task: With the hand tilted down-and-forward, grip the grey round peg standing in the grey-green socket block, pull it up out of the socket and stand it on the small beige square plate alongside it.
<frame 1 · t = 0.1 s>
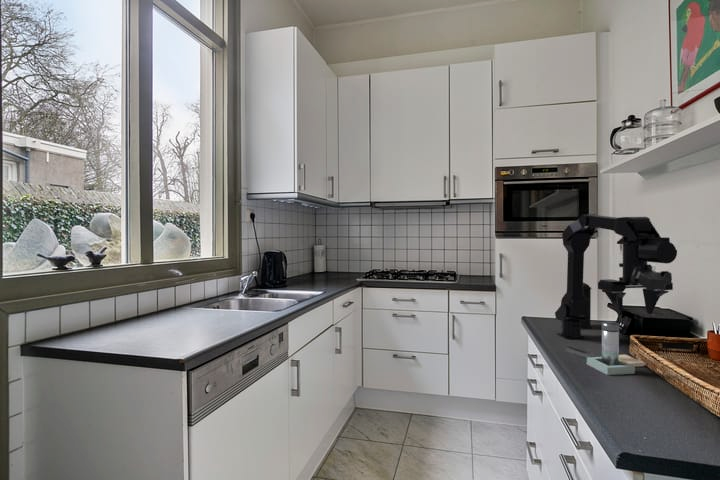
hand: (634, 314, 108), 15 cm above the countertop, tool pointing down, fingers open, 9 cm apart
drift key: (579, 354, 118), on the countertop
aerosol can: (579, 327, 149), on the countertop
grey round peg: (610, 346, 105), in the socket
socket: (610, 368, 106), on the countertop
beige square plate: (623, 362, 110), on the countertop
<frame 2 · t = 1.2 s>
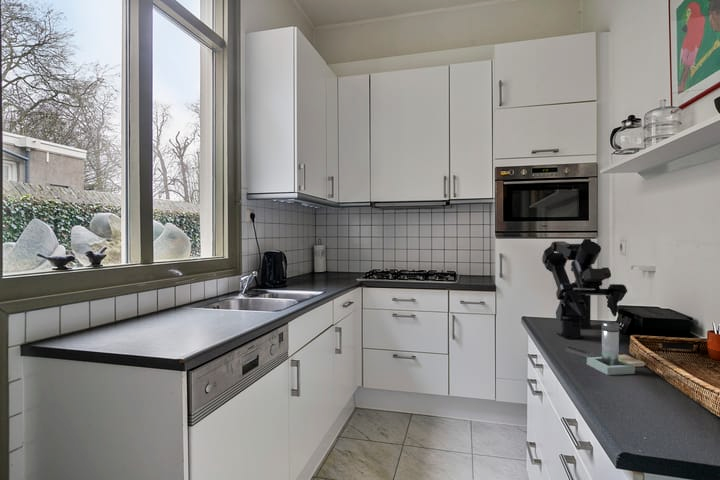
hand: (598, 315, 113), 13 cm above the countertop, tool tilted 45°, fingers open, 9 cm apart
nothing on the countertop moved.
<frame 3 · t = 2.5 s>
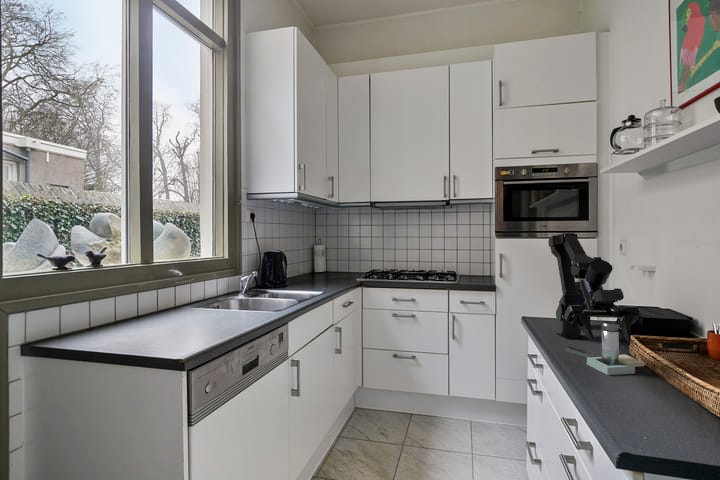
hand: (610, 340, 105), 8 cm above the countertop, tool tilted 45°, fingers open, 9 cm apart
nothing on the countertop moved.
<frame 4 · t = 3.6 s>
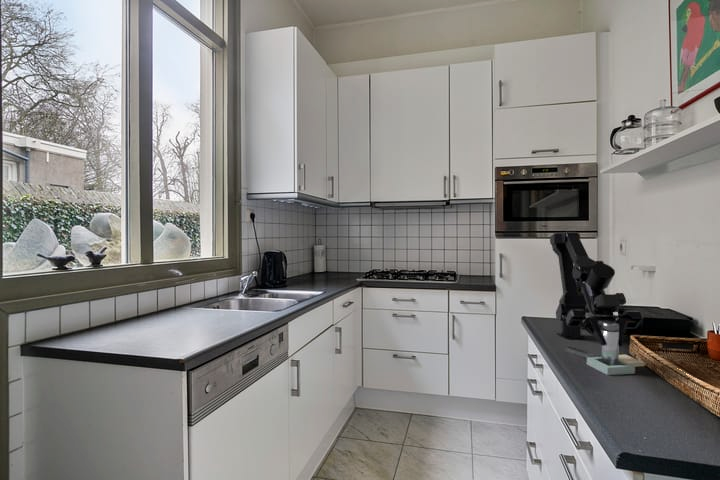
hand: (612, 345, 104), 7 cm above the countertop, tool tilted 45°, fingers closed on grey round peg, 4 cm apart
grey round peg: (610, 346, 105), in the socket, touching gripper
everything else where it was.
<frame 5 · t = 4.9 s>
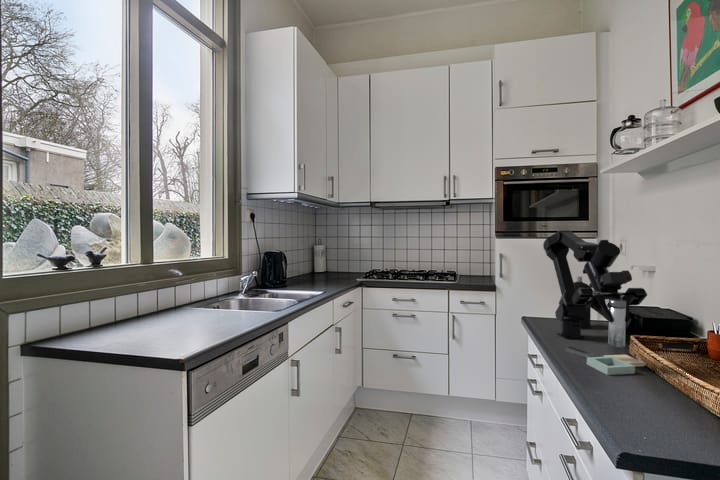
hand: (619, 321, 106), 13 cm above the countertop, tool tilted 45°, fingers closed on grey round peg, 4 cm apart
grey round peg: (616, 322, 107), point 13 cm above the countertop, touching gripper
everything else where it was.
when the fingers open (9 cm above the countertop, at t = 6.4 s): grey round peg stays where it is, resting on beige square plate.
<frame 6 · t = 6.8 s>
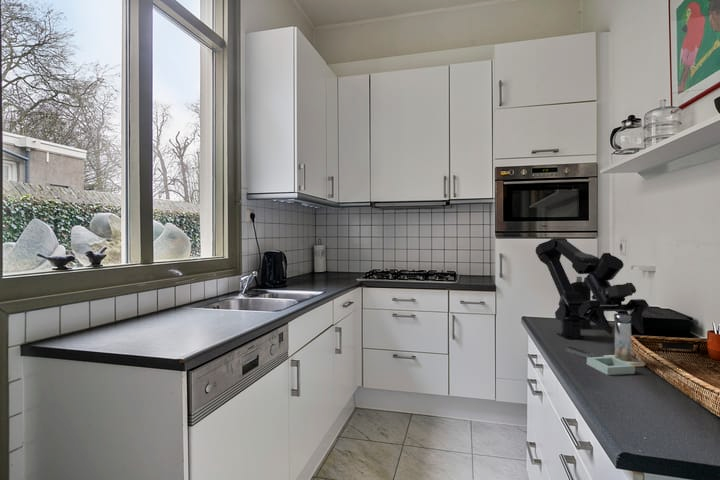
hand: (627, 333, 109), 9 cm above the countertop, tool tilted 45°, fingers open, 9 cm apart
grey round peg: (622, 336, 110), on the beige square plate, point 8 cm above the countertop
everything else where it was.
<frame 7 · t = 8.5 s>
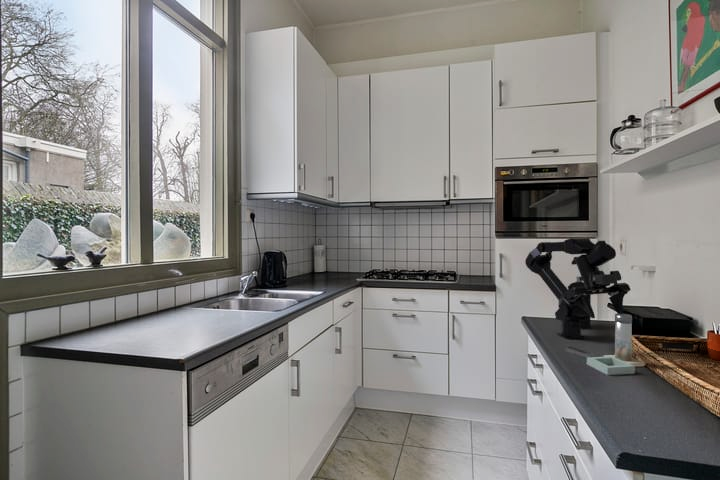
hand: (607, 316, 119), 11 cm above the countertop, tool tilted 30°, fingers open, 9 cm apart
nothing on the countertop moved.
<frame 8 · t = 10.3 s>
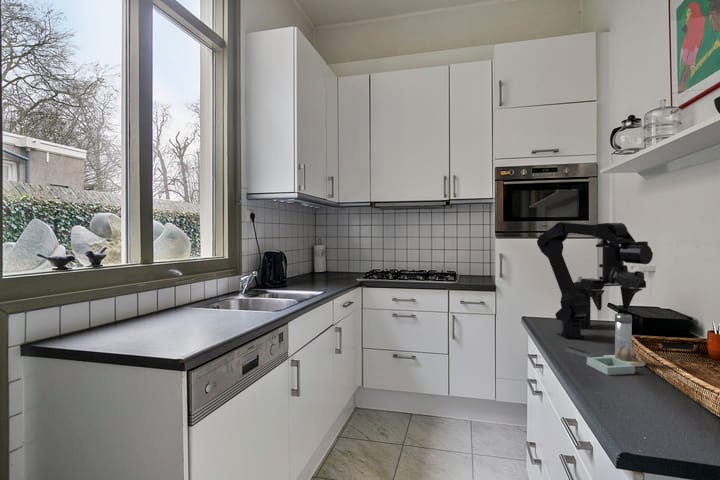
hand: (612, 309, 121), 13 cm above the countertop, tool pointing down, fingers open, 9 cm apart
nothing on the countertop moved.
at the end: grey round peg inside the target area on the beige square plate (0.2 cm from its centre), point 7.5 cm above the beige square plate's base; grey round peg tilted 0°; the gripper is holding nothing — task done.
